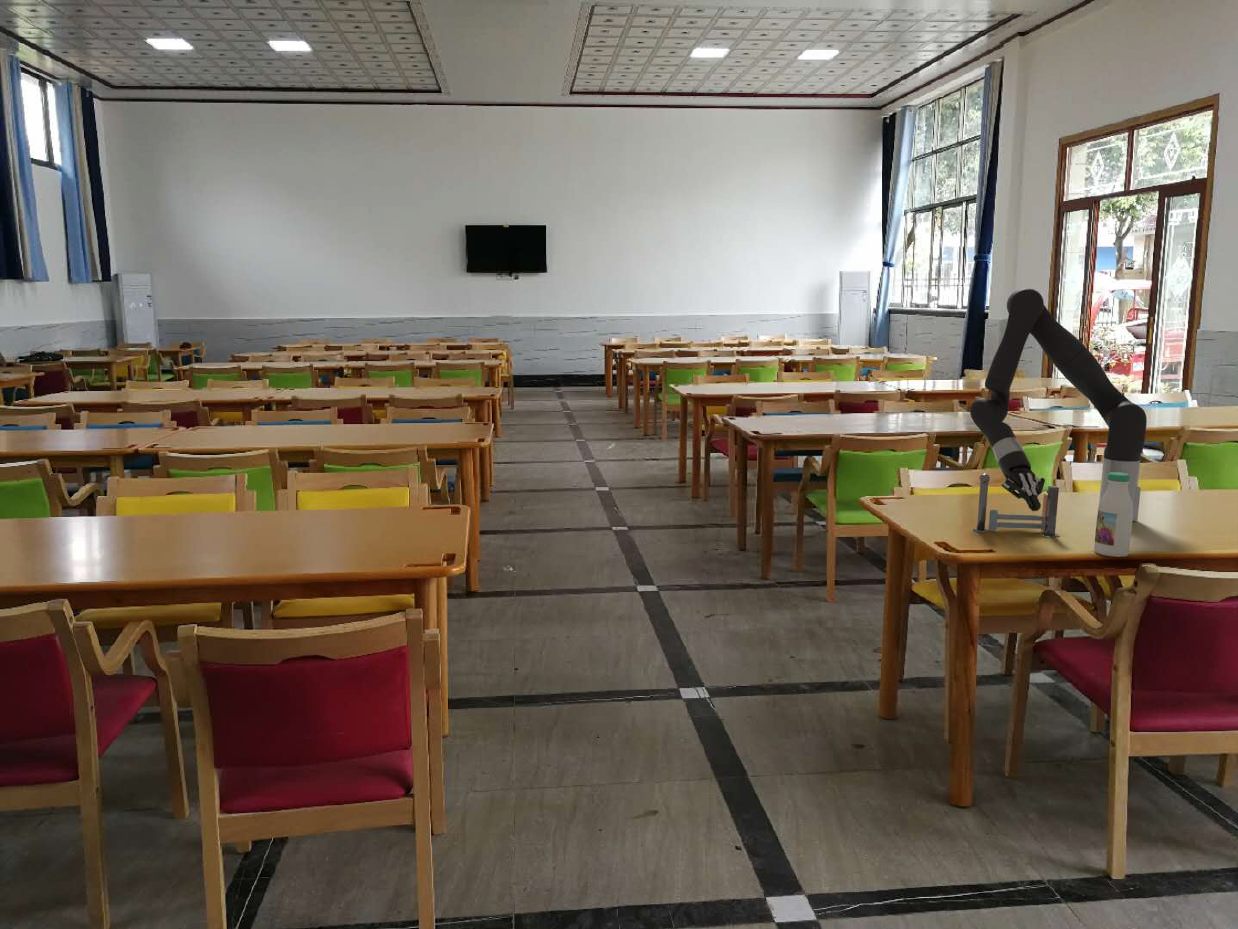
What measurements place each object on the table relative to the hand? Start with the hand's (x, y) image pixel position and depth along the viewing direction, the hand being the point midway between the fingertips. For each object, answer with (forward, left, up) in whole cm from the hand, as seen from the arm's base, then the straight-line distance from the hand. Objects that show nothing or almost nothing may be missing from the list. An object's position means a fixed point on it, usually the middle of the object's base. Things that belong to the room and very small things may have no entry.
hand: (1036, 509), depth 257 cm
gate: (+6, +4, -5) cm, 8 cm away
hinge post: (+16, +3, -5) cm, 17 cm away
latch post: (-1, +7, -5) cm, 9 cm away
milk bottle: (-8, +25, -6) cm, 27 cm away
